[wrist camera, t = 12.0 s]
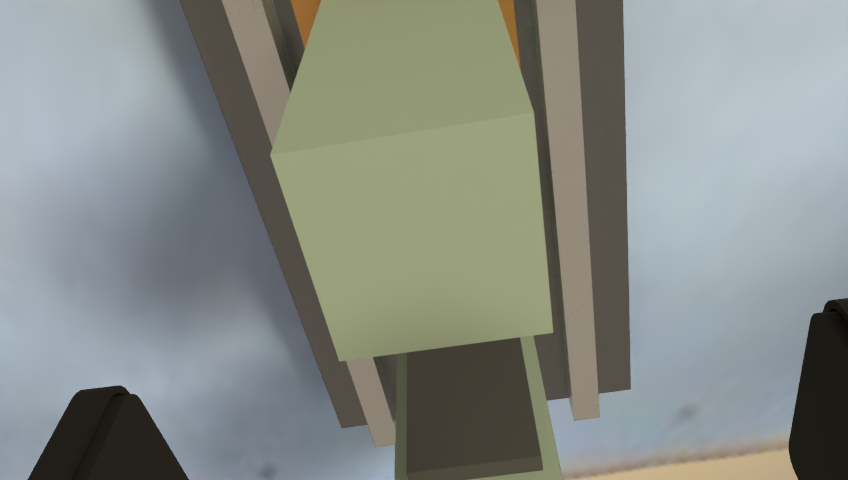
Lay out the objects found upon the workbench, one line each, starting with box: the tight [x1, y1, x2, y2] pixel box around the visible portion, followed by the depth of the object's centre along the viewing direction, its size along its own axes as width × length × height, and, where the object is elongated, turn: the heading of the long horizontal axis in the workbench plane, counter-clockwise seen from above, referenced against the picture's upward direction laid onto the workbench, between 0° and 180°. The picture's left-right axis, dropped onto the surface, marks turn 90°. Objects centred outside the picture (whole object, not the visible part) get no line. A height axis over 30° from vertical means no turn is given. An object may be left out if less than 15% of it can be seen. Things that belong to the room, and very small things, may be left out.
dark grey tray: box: [180, 0, 631, 447], centre depth 24 cm, size 12×20×3 cm, turn 10°
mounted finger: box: [395, 336, 563, 480], centre depth 23 cm, size 4×6×9 cm
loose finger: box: [270, 0, 553, 362], centre depth 17 cm, size 4×6×9 cm
